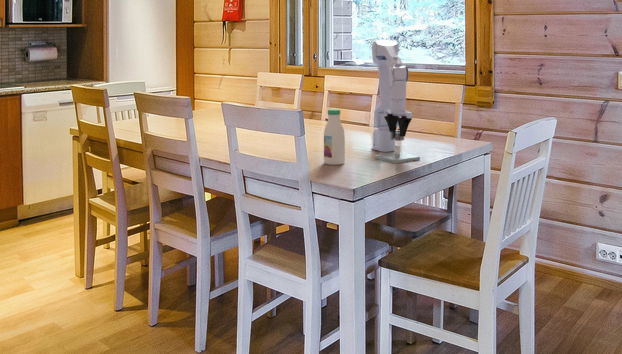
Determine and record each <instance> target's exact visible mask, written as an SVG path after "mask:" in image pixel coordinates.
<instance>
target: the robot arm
mask: <svg viewBox="0 0 622 354" xmlns="http://www.w3.org/2000/svg"><path fill="white" fill-rule="evenodd" d="M398 53H399V43H398V41H397V40H374V41H373V42H372V43H371V56H372V62H373V64H375V65H376V66H377V67H376V68H377V71H378V87H379V89H378V90H379V102H380V104H379V105H378V106H376V108H374V110H373V125H374V127H375V128H374V130H373V132H372V147H370V149H371V150H375V151H377V152H378V151H379V152H383V153H387V152H388V153H391V152H395V145H396V143H397V141H395V139H394V140H390V131H397V128H398V131H399V134H400V137H402V136H404V137H406V135H407V131H408V128H409V126H410V124H411V122H412V119H413V112H412V111H411V112H410V111H408V110H407V109H406V107H407V82H408V81H409V77H410V76H409V73H410V72H409V68H408V65H404V64H403V62H402V59H401V58H400V57H399V56H398Z"/></svg>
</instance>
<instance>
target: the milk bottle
mask: <svg viewBox="0 0 622 354" xmlns="http://www.w3.org/2000/svg"><path fill="white" fill-rule="evenodd" d="M327 117H328V118H327V121H326V125H325V127H324V129H323V162H324V164H325V165H327V166H328V165H331V166H339V165H344V164H345V161H346V151H345V150H346V144H345V143H346V142H345V140H346V138H345V129H344V126H343V124H342V121H341V109H339V108H338V109H337V108H329V109H327Z"/></svg>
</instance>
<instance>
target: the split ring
mask: <svg viewBox="0 0 622 354" xmlns="http://www.w3.org/2000/svg"><path fill="white" fill-rule="evenodd" d="M394 139H395V141H396V142H397V141H399V142H401V141H404V140H405V136H402V137H400V134H399V130H396V131H390V140H394Z"/></svg>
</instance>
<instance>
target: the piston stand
mask: <svg viewBox="0 0 622 354" xmlns="http://www.w3.org/2000/svg"><path fill="white" fill-rule="evenodd" d="M374 159H376V160H380V161H383V162H387V163H391V164H401V163H407V161H408V162H414V161H413V160H415V161H420V160H421V156H419V155H415V154H411V153H406V152H401V145H399V144H395V151H394V152H388V153H382V154H381V153H380V154H375V155H374ZM419 159H420V160H419Z"/></svg>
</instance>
